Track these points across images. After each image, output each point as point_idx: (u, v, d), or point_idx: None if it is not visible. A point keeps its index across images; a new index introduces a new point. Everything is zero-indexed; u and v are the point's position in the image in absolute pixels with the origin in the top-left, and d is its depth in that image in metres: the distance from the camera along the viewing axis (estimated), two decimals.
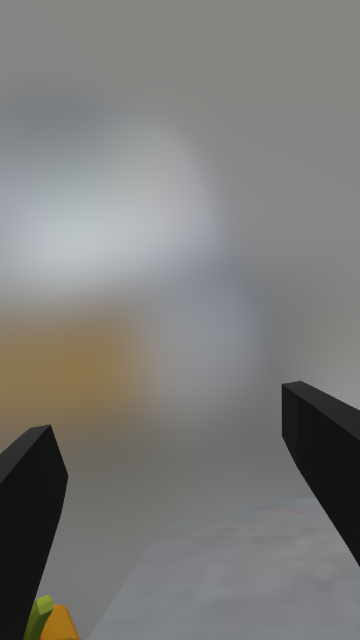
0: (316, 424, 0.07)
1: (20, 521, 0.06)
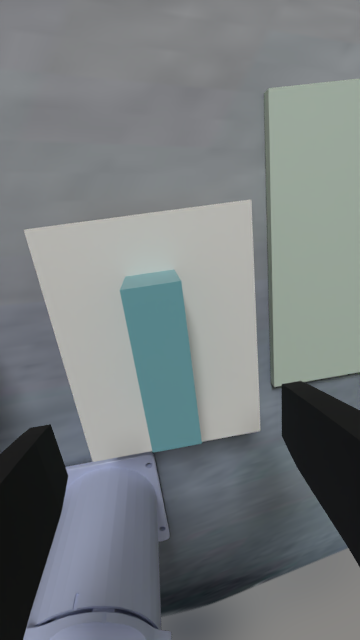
0: (316, 424, 0.07)
1: (20, 520, 0.06)
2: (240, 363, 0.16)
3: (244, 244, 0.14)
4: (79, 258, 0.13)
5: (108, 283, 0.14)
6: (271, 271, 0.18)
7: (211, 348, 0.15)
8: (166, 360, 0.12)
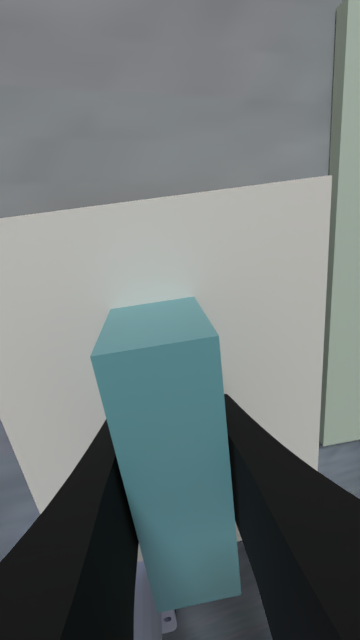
0: None
1: (124, 500, 0.06)
2: (292, 437, 0.10)
3: (314, 253, 0.08)
4: (28, 279, 0.07)
5: (81, 320, 0.08)
6: (329, 289, 0.12)
7: None
8: (185, 478, 0.06)
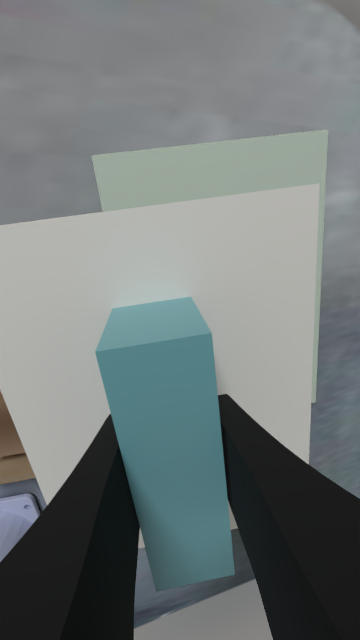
0: (225, 441, 0.07)
1: (124, 500, 0.06)
2: (284, 430, 0.11)
3: (303, 256, 0.09)
4: (36, 280, 0.08)
5: (85, 319, 0.09)
6: None
7: None
8: (182, 463, 0.07)
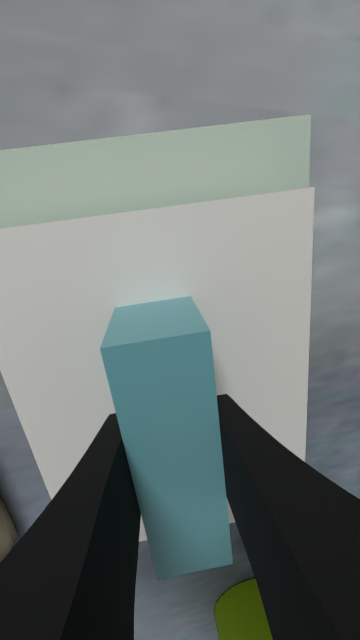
0: (224, 441, 0.07)
1: (124, 500, 0.06)
2: (281, 425, 0.11)
3: (299, 257, 0.09)
4: (41, 280, 0.08)
5: (89, 318, 0.09)
6: None
7: (242, 406, 0.11)
8: (181, 455, 0.07)
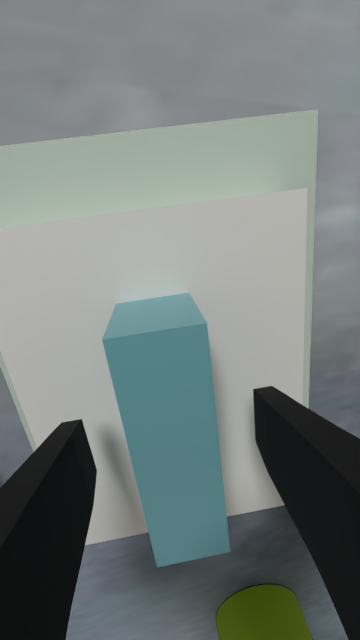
0: (281, 430, 0.07)
1: (61, 513, 0.06)
2: None
3: (293, 255, 0.09)
4: (45, 277, 0.09)
5: (91, 313, 0.09)
6: (18, 406, 0.12)
7: (239, 400, 0.11)
8: (180, 444, 0.08)
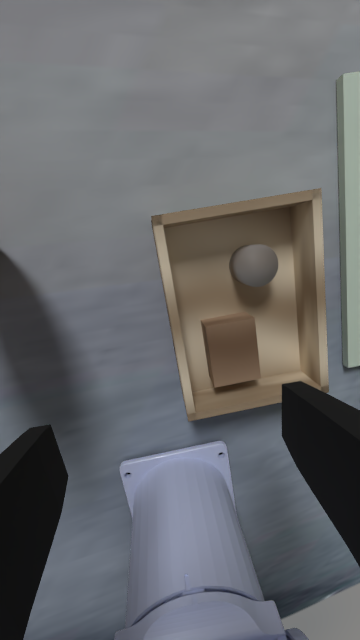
0: (316, 424, 0.07)
1: (20, 520, 0.06)
2: None
3: None
4: None
5: None
6: (344, 247, 0.18)
7: None
8: None
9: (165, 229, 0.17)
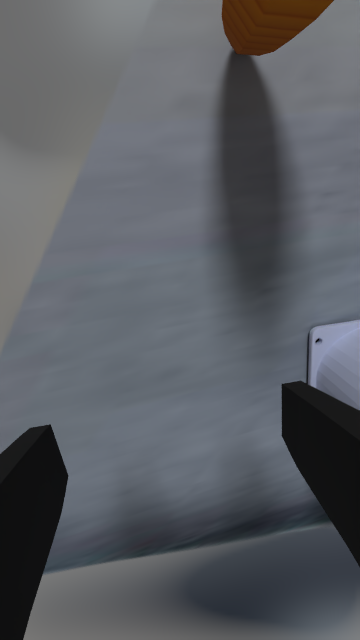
0: (316, 424, 0.07)
1: (20, 520, 0.06)
2: None
3: None
4: None
5: None
6: None
7: None
8: None
9: None
